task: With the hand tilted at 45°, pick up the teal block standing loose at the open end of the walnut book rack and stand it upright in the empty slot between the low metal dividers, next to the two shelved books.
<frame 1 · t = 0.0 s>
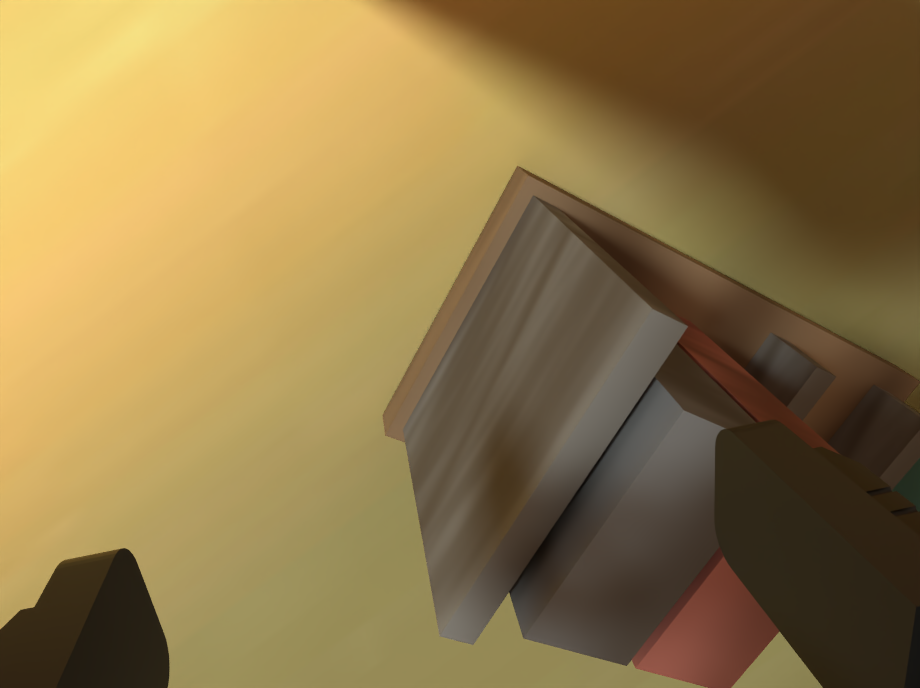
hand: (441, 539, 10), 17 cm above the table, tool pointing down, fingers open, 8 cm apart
book rack: (748, 430, 32), on the table
teal block: (889, 492, 35), on the table
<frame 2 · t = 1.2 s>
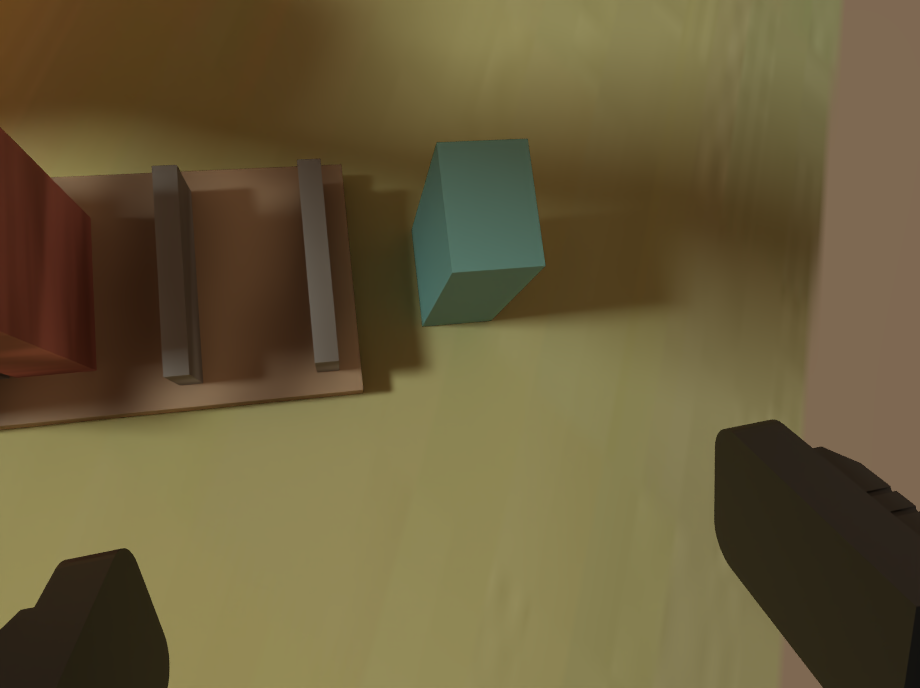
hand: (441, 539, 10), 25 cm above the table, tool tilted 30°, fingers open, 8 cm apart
book rack: (257, 289, 35), on the table
teal block: (451, 275, 36), on the table
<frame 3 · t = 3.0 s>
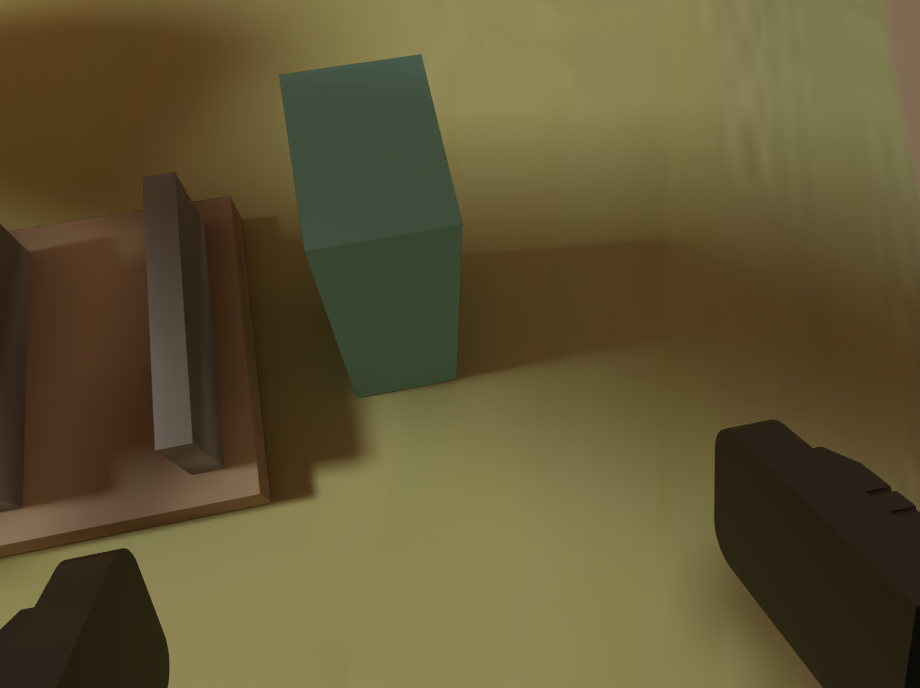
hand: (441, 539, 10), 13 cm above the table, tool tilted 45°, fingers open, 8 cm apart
book rack: (124, 372, 25), on the table
teal block: (394, 324, 26), on the table
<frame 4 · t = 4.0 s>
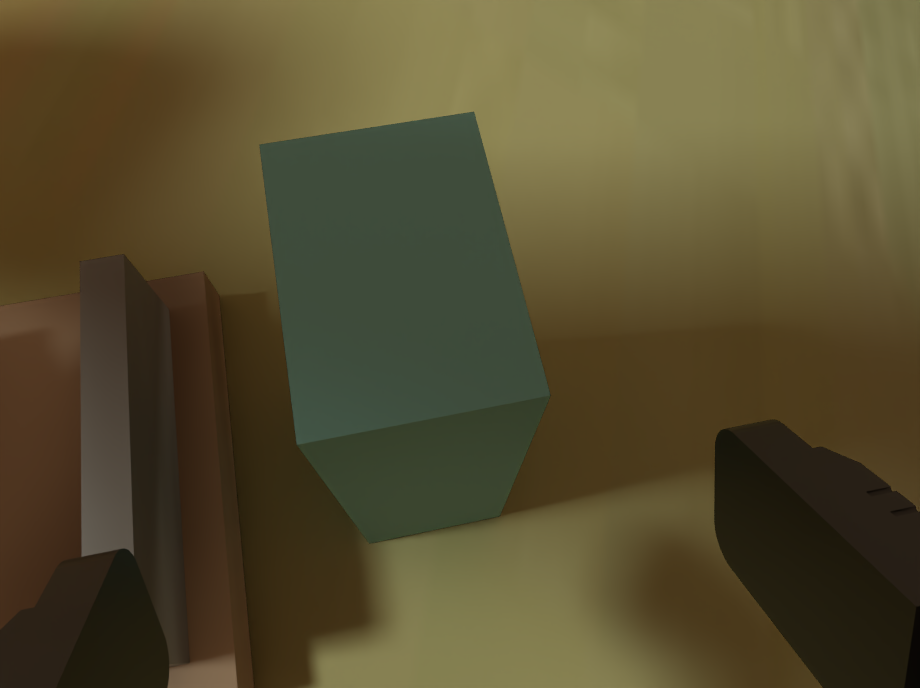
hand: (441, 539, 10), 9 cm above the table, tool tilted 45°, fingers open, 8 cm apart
book rack: (62, 508, 19), on the table
teal block: (417, 439, 20), on the table
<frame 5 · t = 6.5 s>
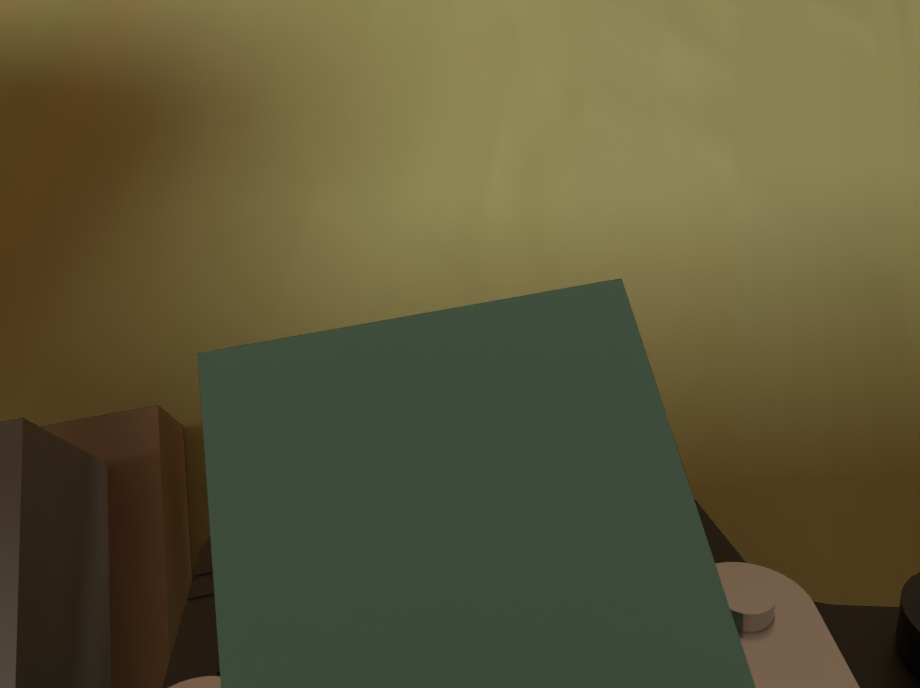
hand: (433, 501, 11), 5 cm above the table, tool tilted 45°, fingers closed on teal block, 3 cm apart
teal block: (457, 644, 14), on the table, touching gripper
when the fingers open (7 cm above the table, at t = 12.3 s): teal block stays where it is, resting on book rack.
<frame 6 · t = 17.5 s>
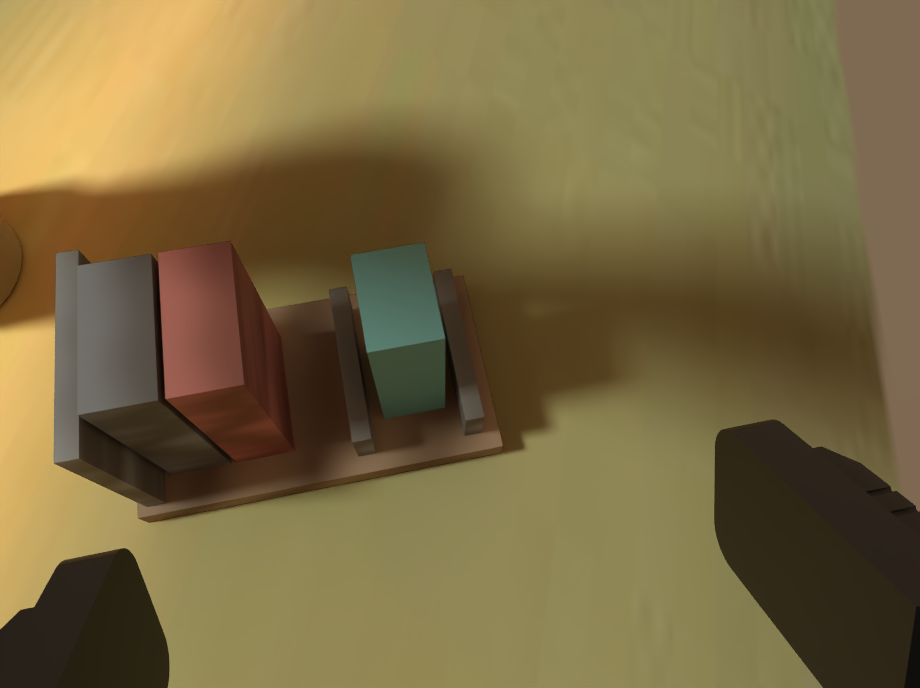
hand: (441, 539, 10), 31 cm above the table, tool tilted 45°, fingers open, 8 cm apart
book rack: (407, 379, 43), on the table
teal block: (407, 372, 42), point 1 cm above the table, touching book rack
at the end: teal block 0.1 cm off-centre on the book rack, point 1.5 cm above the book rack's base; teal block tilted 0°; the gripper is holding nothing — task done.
